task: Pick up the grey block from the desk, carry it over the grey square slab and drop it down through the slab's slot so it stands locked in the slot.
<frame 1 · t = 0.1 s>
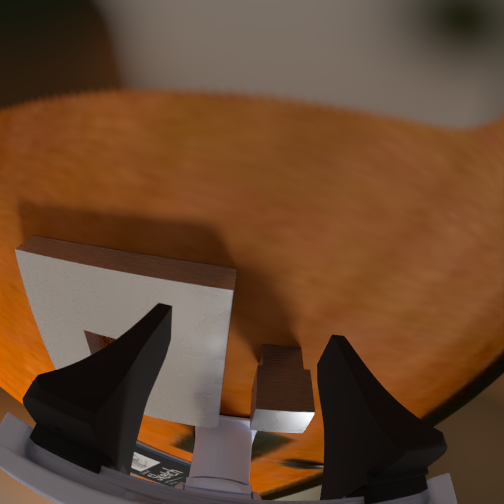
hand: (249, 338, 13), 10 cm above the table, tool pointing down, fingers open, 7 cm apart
grey block: (279, 356, 27), on the table
sketchbook: (130, 452, 44), on the table
grey square slab: (128, 338, 27), on the table
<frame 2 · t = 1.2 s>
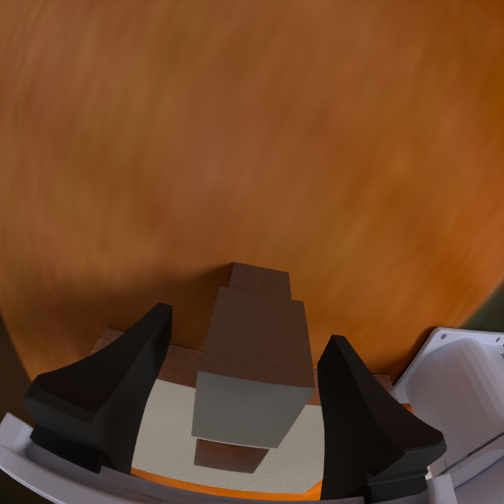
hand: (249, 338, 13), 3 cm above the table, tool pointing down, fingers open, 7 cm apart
grey block: (254, 296, 16), on the table
grey square slab: (231, 430, 22), on the table
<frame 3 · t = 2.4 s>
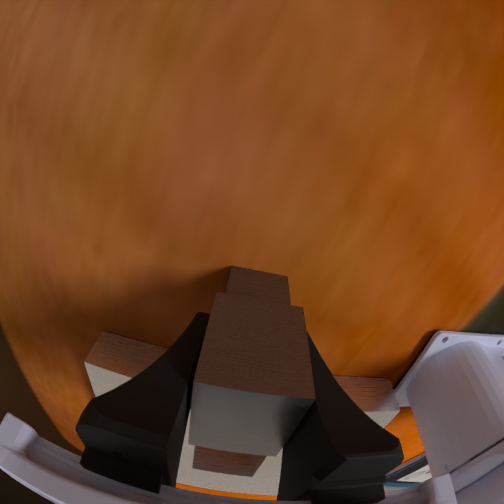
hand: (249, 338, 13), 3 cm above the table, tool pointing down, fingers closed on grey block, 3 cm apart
grey block: (252, 300, 15), on the table, touching gripper
sketchbook: (468, 441, 27), on the table
grey square slab: (230, 434, 22), on the table
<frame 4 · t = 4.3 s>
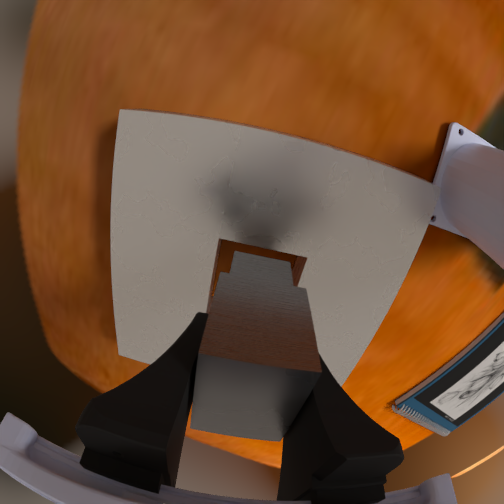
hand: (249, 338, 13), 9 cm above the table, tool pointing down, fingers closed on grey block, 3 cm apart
grey block: (255, 286, 15), point 6 cm above the table, touching gripper
sketchbook: (498, 357, 28), on the table
grey square slab: (254, 268, 22), on the table
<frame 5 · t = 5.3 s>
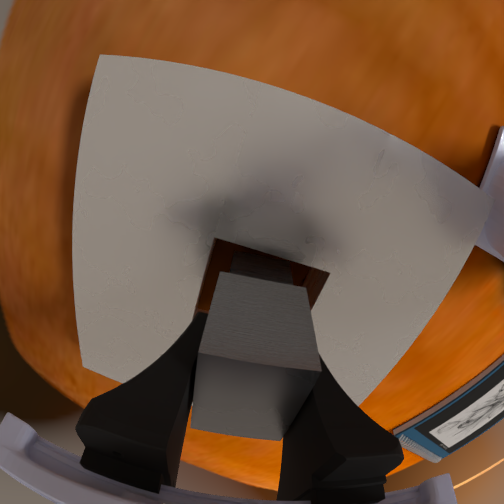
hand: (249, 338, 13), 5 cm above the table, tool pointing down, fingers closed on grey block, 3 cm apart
grey block: (255, 286, 15), point 2 cm above the table, touching gripper
sketchbook: (502, 386, 24), on the table
grey square slab: (254, 279, 17), on the table
when the fingers open (4 cm above the table, at t = 6.2 s): grey block drops 1 cm, resting in grey square slab.
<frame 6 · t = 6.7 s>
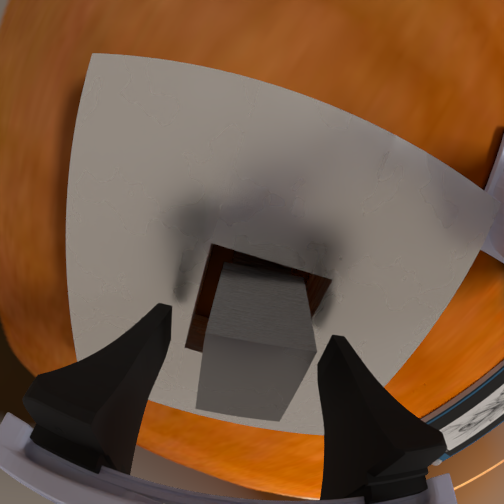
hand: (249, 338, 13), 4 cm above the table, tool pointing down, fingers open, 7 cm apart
grey block: (255, 277, 16), resting in grey square slab
sketchbook: (503, 389, 24), on the table
grey square slab: (253, 284, 16), on the table
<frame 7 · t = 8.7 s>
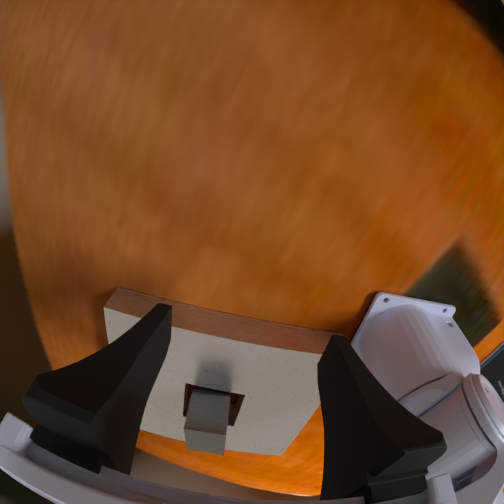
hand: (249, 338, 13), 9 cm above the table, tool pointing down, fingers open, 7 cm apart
grey block: (215, 381, 28), resting in grey square slab
sketchbook: (440, 420, 34), on the table
grey square slab: (215, 384, 28), on the table
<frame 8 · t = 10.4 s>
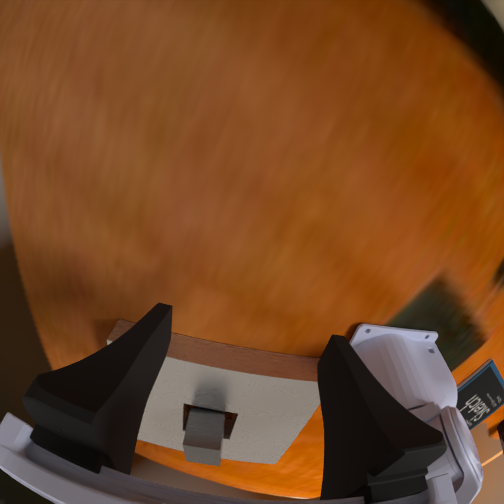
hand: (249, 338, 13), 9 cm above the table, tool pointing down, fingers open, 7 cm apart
grey block: (211, 399, 30), resting in grey square slab
sketchbook: (430, 429, 35), on the table
grey square slab: (211, 402, 30), on the table
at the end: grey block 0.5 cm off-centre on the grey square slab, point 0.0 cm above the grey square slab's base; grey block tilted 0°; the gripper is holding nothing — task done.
